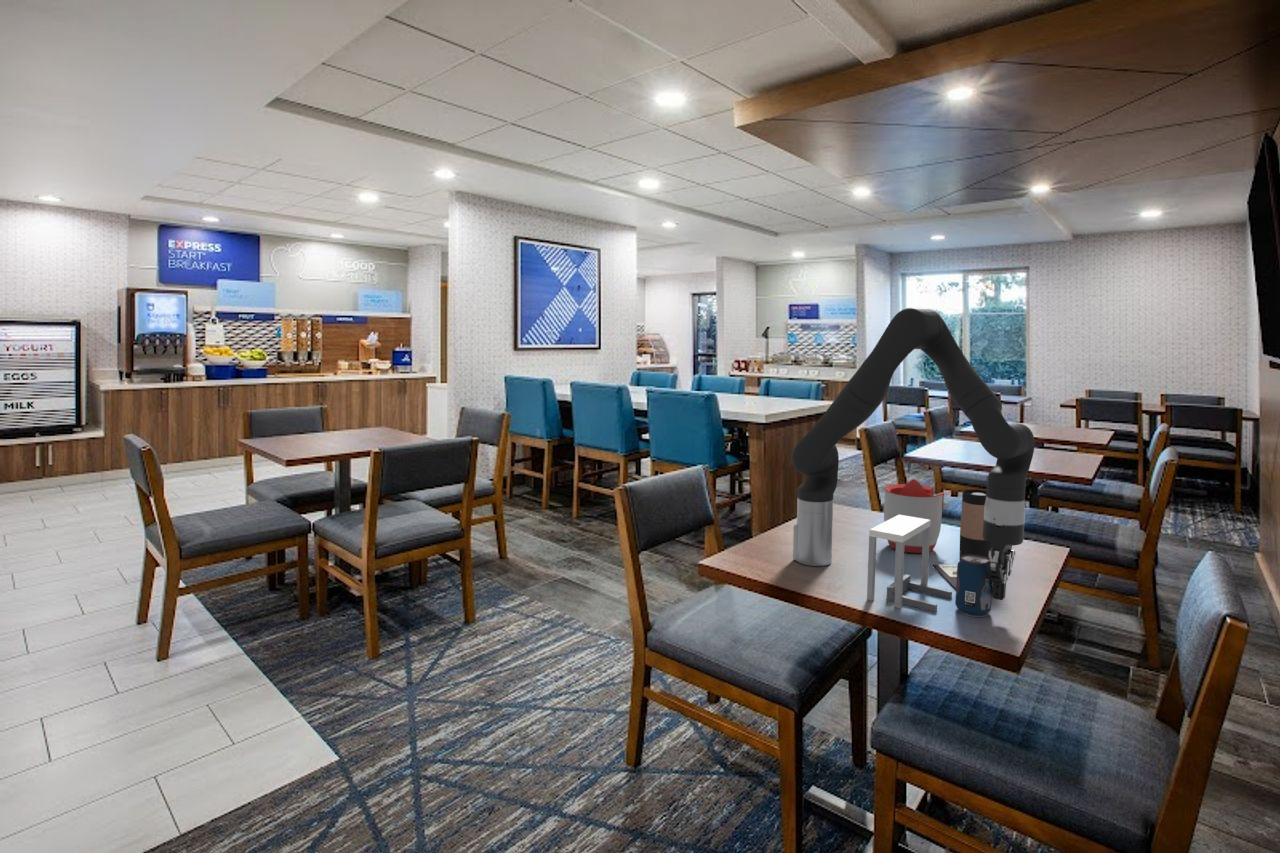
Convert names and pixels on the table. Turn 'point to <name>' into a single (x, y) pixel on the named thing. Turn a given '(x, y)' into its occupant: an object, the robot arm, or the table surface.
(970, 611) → the soda can
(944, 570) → the chocolate bar
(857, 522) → the table surface
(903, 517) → the overhang shelf
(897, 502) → the citrus juicer
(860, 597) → the table surface
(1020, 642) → the table surface
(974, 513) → the travel mug
